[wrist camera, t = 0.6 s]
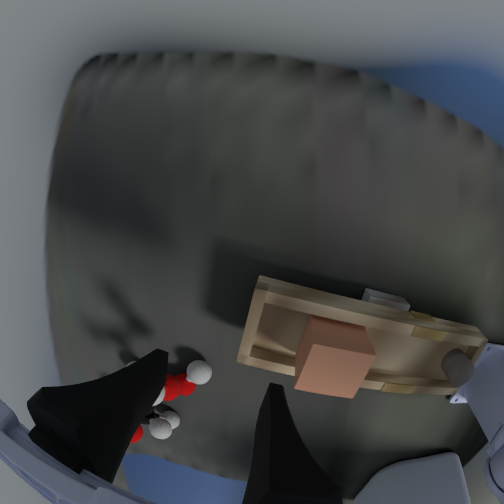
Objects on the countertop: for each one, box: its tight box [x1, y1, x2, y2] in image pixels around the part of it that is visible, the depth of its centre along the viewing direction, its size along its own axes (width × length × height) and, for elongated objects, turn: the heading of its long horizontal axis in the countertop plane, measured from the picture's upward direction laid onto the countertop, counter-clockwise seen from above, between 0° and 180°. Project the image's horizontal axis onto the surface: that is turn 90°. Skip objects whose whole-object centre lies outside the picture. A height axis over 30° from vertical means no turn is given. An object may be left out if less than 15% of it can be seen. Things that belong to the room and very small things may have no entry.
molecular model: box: [126, 360, 212, 443], centre depth 22 cm, size 16×8×10 cm, turn 155°
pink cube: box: [294, 314, 376, 399], centre depth 17 cm, size 4×4×4 cm
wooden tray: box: [236, 275, 489, 395], centre depth 19 cm, size 20×7×5 cm, turn 77°
